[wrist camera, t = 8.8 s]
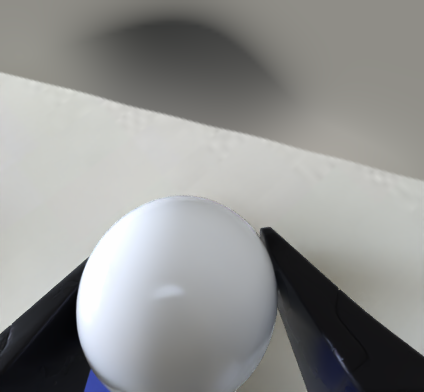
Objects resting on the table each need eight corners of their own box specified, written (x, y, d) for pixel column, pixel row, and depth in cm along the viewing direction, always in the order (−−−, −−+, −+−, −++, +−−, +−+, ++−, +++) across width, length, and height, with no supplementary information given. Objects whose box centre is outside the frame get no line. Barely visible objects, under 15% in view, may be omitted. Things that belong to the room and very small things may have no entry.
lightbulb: (201, 198, 16) (148, 121, 5) (269, 256, 15) (379, 308, 4) (144, 264, 15) (-51, 332, 5) (210, 329, 14) (156, 619, 3)
